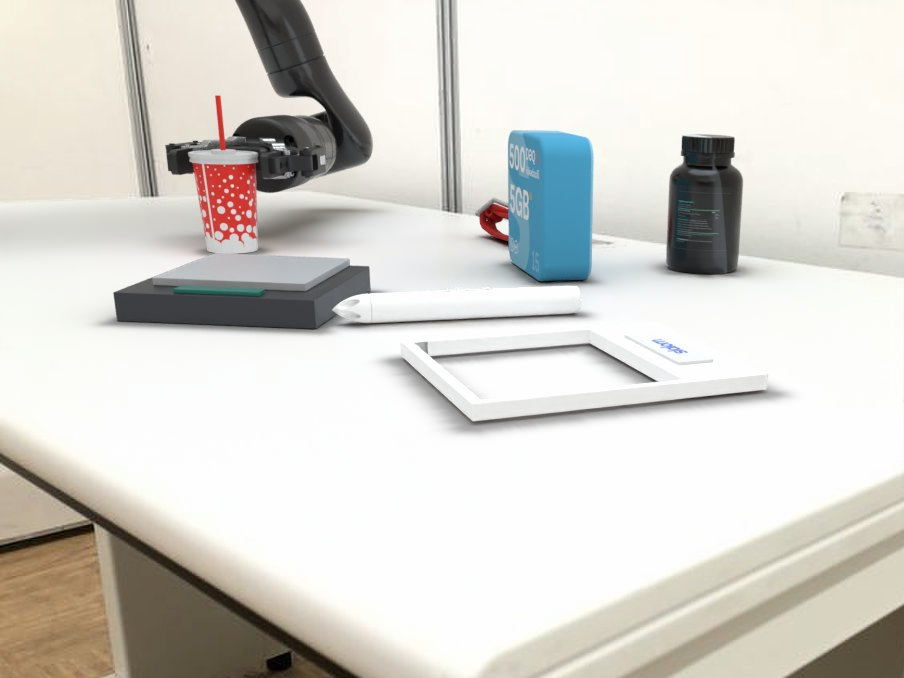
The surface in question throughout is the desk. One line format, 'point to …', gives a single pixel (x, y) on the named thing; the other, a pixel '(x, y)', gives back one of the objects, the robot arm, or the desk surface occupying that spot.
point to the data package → (550, 204)
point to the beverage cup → (227, 195)
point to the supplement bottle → (704, 207)
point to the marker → (460, 304)
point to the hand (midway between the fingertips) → (219, 164)
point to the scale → (245, 291)
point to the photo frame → (639, 345)
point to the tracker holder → (493, 217)
